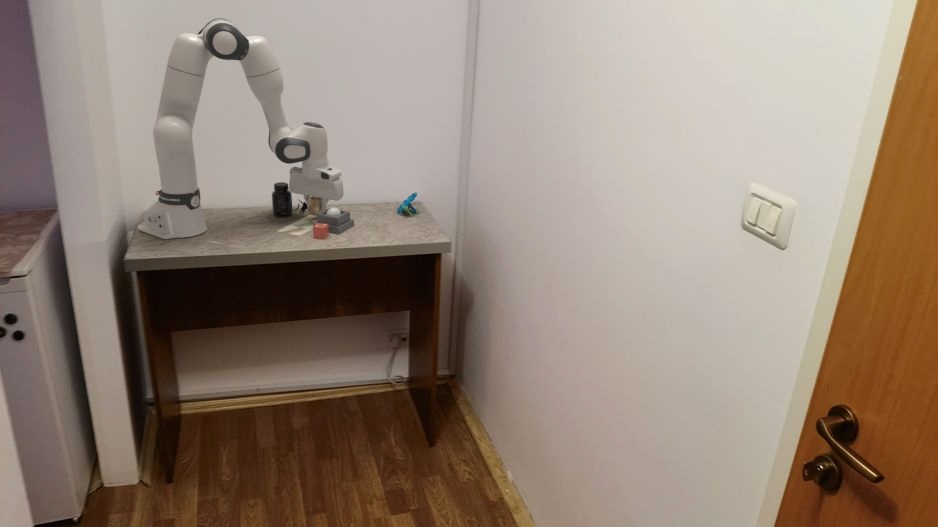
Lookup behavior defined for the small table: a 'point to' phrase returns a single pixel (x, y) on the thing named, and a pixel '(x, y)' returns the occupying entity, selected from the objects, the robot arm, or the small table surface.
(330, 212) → the dome
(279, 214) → the supplement bottle
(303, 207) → the creature
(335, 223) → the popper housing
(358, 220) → the small table surface
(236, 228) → the small table surface
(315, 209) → the pawn
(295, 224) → the board
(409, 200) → the blue lobed plastic figure
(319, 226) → the die
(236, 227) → the small table surface
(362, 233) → the small table surface
